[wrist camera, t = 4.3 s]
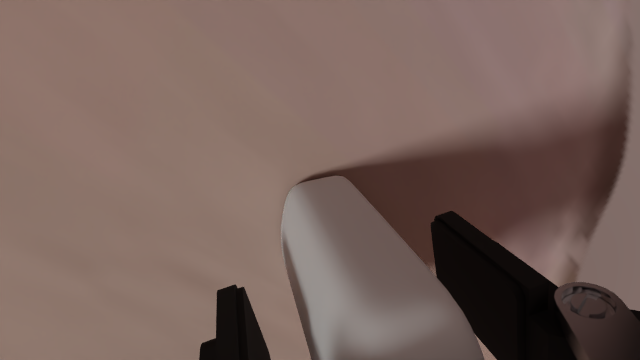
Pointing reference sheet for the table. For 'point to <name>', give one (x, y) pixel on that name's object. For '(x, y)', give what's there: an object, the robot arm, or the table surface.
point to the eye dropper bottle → (364, 282)
